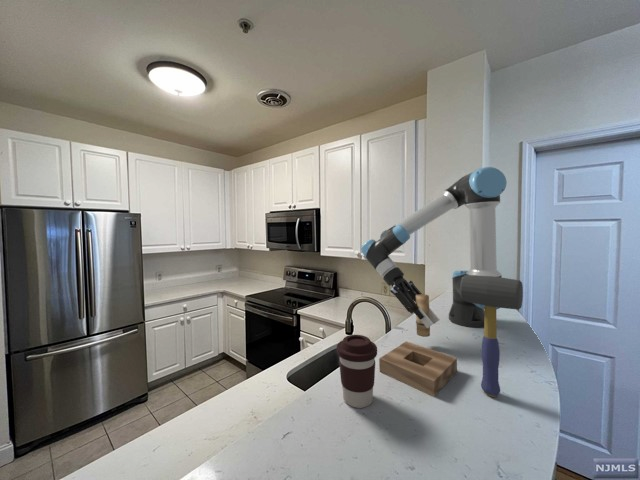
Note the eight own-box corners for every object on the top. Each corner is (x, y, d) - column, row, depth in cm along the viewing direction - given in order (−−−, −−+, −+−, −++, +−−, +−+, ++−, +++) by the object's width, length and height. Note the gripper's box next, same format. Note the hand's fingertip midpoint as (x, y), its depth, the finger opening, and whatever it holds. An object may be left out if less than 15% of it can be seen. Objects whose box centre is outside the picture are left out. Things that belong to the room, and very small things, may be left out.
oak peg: (419, 330, 93) (418, 293, 92) (432, 334, 89) (431, 295, 89) (413, 334, 90) (412, 295, 89) (426, 338, 86) (425, 298, 86)
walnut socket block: (406, 352, 85) (406, 341, 85) (457, 371, 73) (457, 358, 73) (379, 371, 74) (379, 358, 74) (434, 396, 62) (433, 381, 62)
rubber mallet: (524, 398, 61) (524, 276, 60) (519, 414, 56) (520, 281, 55) (467, 377, 70) (466, 271, 69) (458, 390, 65) (457, 275, 64)
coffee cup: (364, 382, 69) (363, 329, 68) (386, 406, 60) (385, 344, 59) (331, 392, 65) (330, 335, 65) (349, 418, 56) (348, 352, 56)
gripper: (395, 275, 106) (436, 322, 94) (371, 282, 94) (414, 337, 83) (407, 263, 102) (451, 311, 90) (383, 269, 90) (430, 325, 79)
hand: (433, 323), depth 87 cm, fingers closed on oak peg, 4 cm apart
